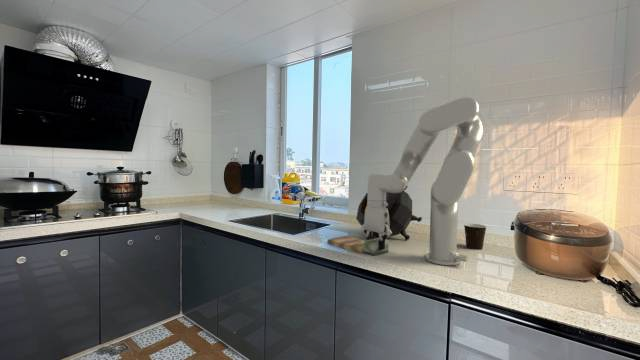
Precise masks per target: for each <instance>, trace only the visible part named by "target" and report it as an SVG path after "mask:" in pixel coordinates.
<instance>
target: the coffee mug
mask: <svg viewBox="0 0 640 360" xmlns="http://www.w3.org/2000/svg"><path fill="white" fill-rule="evenodd" d="M486 232H487V225H484V224H480V223H464V237H465V245H466V248H467V249H469V250H475V251H478V250H480V251H482V250H483V247H484V244H485V243H484V242H485V237H486Z"/></svg>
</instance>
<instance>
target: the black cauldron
mask: <svg viewBox="0 0 640 360" xmlns="http://www.w3.org/2000/svg"><path fill="white" fill-rule="evenodd" d="M407 189H408V185H407V186H406V188H405V189H404V190H403V191H402V192H400V193H389V192H386V203H388V206H386V208H388V213H389V223H390V230H391V232H392V234H391V235H390V236H389V237H390V238H391V237H395V236H398V235H401V236H402V237H403V238H404V240H405V241H408V240H410V235H408V234H407V232H406V230H407V228H408V227H409V225H410V223H411V222H412V221H417V222H418V223H420V222H422V219H423V217H422V216H420V217H417V216H416V215H414V214H413V200H412V198H411V195H409V193H407V192H406V191H405V190H407ZM367 200H368V192H366V193H365V195H364V197H363V198H362V199H361V202H360V203H359V204H358V208H357V213H356V219H355V220H357V222H358V223H359V224H360V227H362V225H363V224H364V219H365V211H366V207H367ZM386 233H387V232H385V234H386ZM372 236H373V239H376V238H375V237H377V238H380V237H379V233H377V232H373V234H372ZM382 236H383V235H382ZM389 237H388V238H389Z"/></svg>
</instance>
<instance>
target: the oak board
mask: <svg viewBox="0 0 640 360" xmlns="http://www.w3.org/2000/svg"><path fill="white" fill-rule="evenodd" d="M364 241H366V240H365V239H360V238H356V237H354V236H353V237H352V236H349V235H340V236H338V237H332V238H327V245H330V246H334V247H336V248H340V249H344V250H347V251H351V252H354V253H357V254H360V255H362V254H365V253H364Z"/></svg>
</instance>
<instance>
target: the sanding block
mask: <svg viewBox="0 0 640 360" xmlns="http://www.w3.org/2000/svg"><path fill="white" fill-rule="evenodd" d="M379 240H380V237H377V238H374V239H371V240H367V239H366V240H365V241H364V253H363V254H367V255H370V256H377V255H381V254H382V255H383V254H385V253H389V239H388V238H386V240H385V249H383V250H379Z"/></svg>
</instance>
